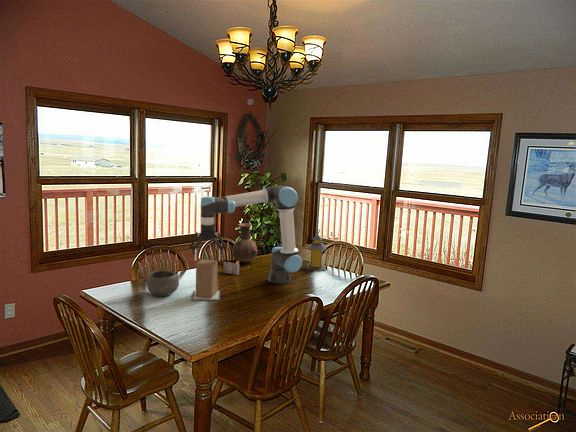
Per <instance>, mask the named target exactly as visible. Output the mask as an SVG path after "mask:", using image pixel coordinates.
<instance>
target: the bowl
mask: <svg viewBox="0 0 576 432" xmlns="http://www.w3.org/2000/svg"><path fill="white" fill-rule="evenodd" d="M179 285H180V282H179V277H178V274H177V273H176V272H175V271H172V270H162V269H161V270H156V271H152V272H150V273H149V274H148V276H147V278H146V288H147V290H148V291H149V293H151V294H152V295H153V296H156V297H166V296H170V295H171V294H173V293H174V292H176V290H177V289H178V288H179Z"/></svg>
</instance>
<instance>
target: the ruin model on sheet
mask: <svg viewBox="0 0 576 432" xmlns="http://www.w3.org/2000/svg"><path fill="white" fill-rule="evenodd" d="M222 265H223V266H222V267H223V268H222V273H223V274H229V275H235V276H238V275H240V261H239V260H236V261H235V263H234V262H228V261H227V262H226V261H224V262H223V263H222Z"/></svg>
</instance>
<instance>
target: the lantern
mask: <svg viewBox="0 0 576 432" xmlns="http://www.w3.org/2000/svg"><path fill="white" fill-rule="evenodd" d="M315 232H316V235H315V236H314V237H313V238H312V241H313V242H312V243H310V244H309V245H308V246H307V250H310V264H309V263H308V264H307V265H306V267H305V270H306V271H313V272H315V271H316V272H326V267H327V266H326V265H323V251H327V246H326V245H325V244H324V243H323V242H322V241H323V238H322V237H321V236H320V235H319V233H320V232H321V230H320V229H318V228H316V230H315Z"/></svg>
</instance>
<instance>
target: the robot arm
mask: <svg viewBox="0 0 576 432" xmlns="http://www.w3.org/2000/svg"><path fill="white" fill-rule="evenodd" d="M298 195H299V194H298V193H297V191H296V190H295V189H294V188H292V187H290V186H284V185H280V184H279V185H275V186H274V185H273V186H269V187H264V188H261V190H256V191H251V192H243V193H237V194H233V195H232V194H231V195H225V196H220V197H219V196H202V197H201V198H200V232H199V231H195V234H194V237H193V239H192V241H191V243H190V245H189V249H191V250H192V256H194V262H197V247H198V246H199V245H200V244H202V241H211V240H212V242H213V243H214V244H215V245H216V246H217V247H218V261H219V262H221V256H222V255H223V249H226V244H225V242H224V241H223V239H222V237H221V233H220V231H218V232H215V214H233V213H235V210H236V208H237V207H243V206H249V205H254V204H261V203H265V204H270V203H271V204H276V205H275V206H276V210H277V211H278V213H279V224H280V235H281V236H280V237H281V246H275V247H272V249H271V267H270V272H269V274H268V280H267V281H268V282H269V283H271V284H277V285H284V284H285V285H286V284H290V283H291V281H292V277H291V274H290V273H296V272H298V271H299V270H300V269H301V268H302V265H303V259H302V257H301V256H300V255H299V254H300V252H299V249H298V248H297V247H296V233H295V220H294V211H295V208H296V203H298V200H299V196H298ZM199 236H200V239H199V240H197V237H199ZM215 236H216V237H217V238H218V240H219V242H218V241H217V239H216V238H215ZM196 240H197V242H196Z"/></svg>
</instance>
